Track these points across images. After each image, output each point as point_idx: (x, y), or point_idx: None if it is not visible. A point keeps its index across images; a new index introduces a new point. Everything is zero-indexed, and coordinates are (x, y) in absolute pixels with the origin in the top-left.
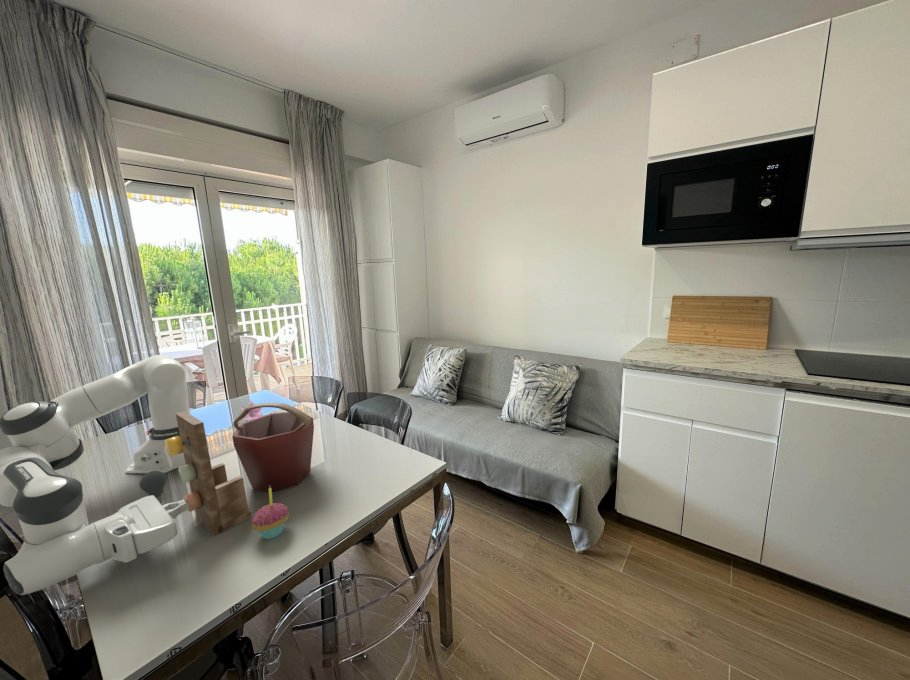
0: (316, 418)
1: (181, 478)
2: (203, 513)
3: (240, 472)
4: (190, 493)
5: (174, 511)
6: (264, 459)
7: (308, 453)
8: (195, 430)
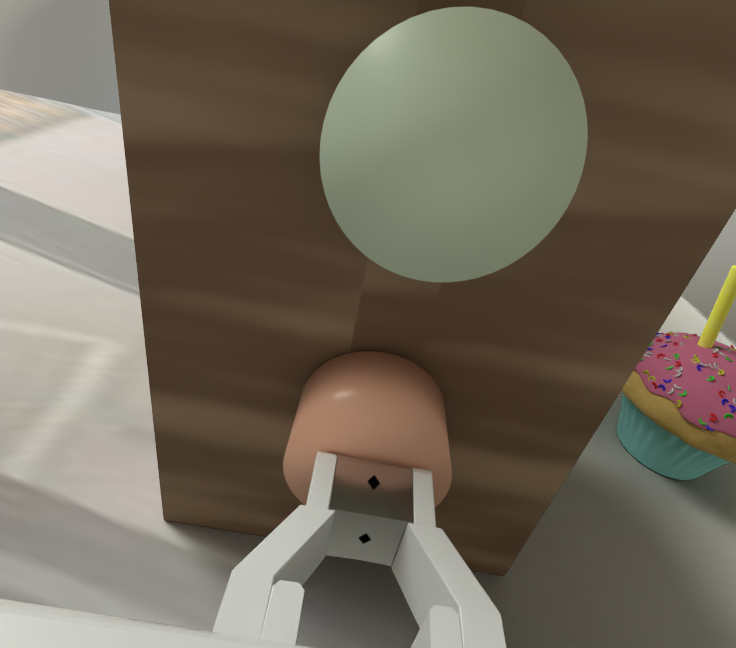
0: (89, 115)
1: (388, 224)
2: None
3: (63, 265)
4: (375, 383)
5: (483, 610)
6: None
7: None
8: None
